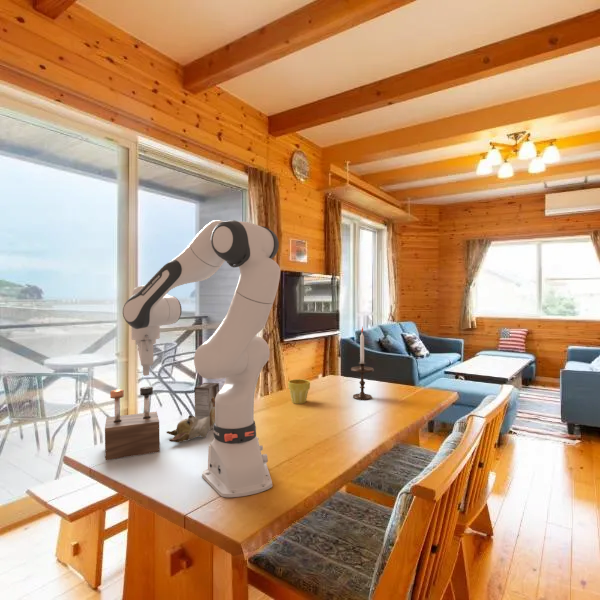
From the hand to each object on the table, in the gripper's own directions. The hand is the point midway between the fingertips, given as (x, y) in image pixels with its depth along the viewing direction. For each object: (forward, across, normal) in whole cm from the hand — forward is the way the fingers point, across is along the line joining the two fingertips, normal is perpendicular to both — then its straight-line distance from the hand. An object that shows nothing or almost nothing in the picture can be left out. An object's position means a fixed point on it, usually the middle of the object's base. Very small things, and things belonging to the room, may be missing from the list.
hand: (146, 374), depth 136 cm
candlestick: (+24, +24, -100) cm, 105 cm away
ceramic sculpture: (+25, +2, -14) cm, 29 cm away
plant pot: (+25, +30, -69) cm, 79 cm away
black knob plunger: (+18, 0, 0) cm, 18 cm away
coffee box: (+25, +12, -23) cm, 36 cm away
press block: (+24, 0, +4) cm, 25 cm away
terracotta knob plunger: (+18, 0, +9) cm, 20 cm away
